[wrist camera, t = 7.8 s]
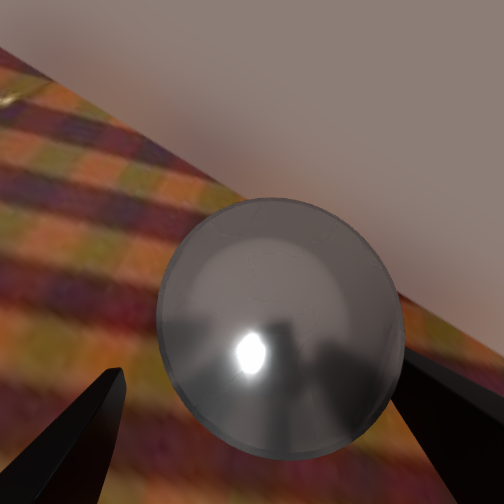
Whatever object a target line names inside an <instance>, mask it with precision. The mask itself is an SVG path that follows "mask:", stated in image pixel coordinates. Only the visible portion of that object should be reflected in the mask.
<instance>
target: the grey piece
mask: <svg viewBox="0 0 504 504" xmlns="http://www.w3.org/2000/svg"><path fill="white" fill-rule="evenodd" d="M156 316H157V336H158V342H159V349H160V353H161V356H162V360H163V363H164V366H165V370H166V372H167V374H168V376H169V378H170V381H171V383H172V385H173V387H174V389H175V391H176V392H177V394H178V395H179V397H180V398H181V400H182V402H183V403H184V405H185V406H186V407H187V408H188V410H189V411H190V412H191V413H192V414H193V415H194V417H195V418H196V419H197V420H198V421H199V422H200V423H201V424H202V425H203V426H205V427H206V428H207V429H208V430H209V431H210V432H212V433H213V434H214V435H215V436H217V437H218V438H220V439H221V440H223V441H225V442H226V443H228V444H230V445H231V446H233V447H235V448H237V449H240V450H242V451H245V452H247V453H249V454H252V455H255V456H259V457H264V458H268V459H273V460H288V461H296V460H305V459H313V458H316V457H320V456H323V455H327V454H330V453H333V452H335V451H337V450H339V449H341V448H343V447H345V446H347V445H349V444H350V443H351V442H353V441H354V440H356V439H357V438H358V437H360V436H361V435H362V434H364V433H365V432H366V431H367V430H368V429H369V428H370V427H371V426H372V425H373V424H374V423H375V422H376V420H377V419H378V418H379V416H380V415H381V413H382V412H383V411H384V409H385V408H386V406H387V405H388V403H389V401H390V399H391V397H392V395H393V393H394V391H395V388H396V385H397V382H398V380H399V377H400V373H401V369H402V364H403V359H404V347H405V330H404V320H403V314H402V308H401V305H400V301H399V297H398V294H397V291H396V289H395V286H394V284H393V281H392V279H391V277H390V275H389V273H388V271H387V269H386V267H385V265H384V264H383V262H382V261H381V259H380V258H379V256H378V255H377V254H376V252H375V251H374V250H373V248H372V247H371V246H370V245H369V243H368V242H367V241H366V240H365V239H364V238H363V237H362V236H361V235H360V234H359V233H358V232H357V231H355V230H354V229H353V228H352V227H351V226H349V225H348V224H347V223H345V222H344V221H342V220H340V218H338V217H337V216H335V215H333V214H331V213H329V212H327V211H326V210H323V209H321V208H319V207H316V206H314V205H311V204H308V203H305V202H301V201H297V200H291V199H286V198H257V199H251V200H245V201H242V202H239V203H235V204H232V205H230V206H227V207H225V208H223V209H221V210H219V211H217V212H215V213H214V214H212V215H210V216H209V217H207V218H206V219H205V220H203V221H202V222H201V223H199V224H198V225H197V226H196V227H195V228H194V229H193V230H192V231H191V232H190V233H189V234H188V235H187V236H186V237H185V238H184V240H183V241H182V242H181V244H180V245H179V246H178V248H177V249H176V251H175V253H174V254H173V256H172V258H171V260H170V262H169V264H168V266H167V269H166V271H165V274H164V276H163V279H162V283H161V287H160V291H159V295H158V303H157V312H156Z"/></svg>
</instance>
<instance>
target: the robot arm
mask: <svg viewBox="0 0 504 504" xmlns="http://www.w3.org/2000/svg"><path fill="white" fill-rule="evenodd" d="M125 396H126V382H125V378H124V373H123V370H122V368H120V367H118V368H110V369H107V370H105V371H104V372H103V373H102V374H101V375H100V376H99V377H98V378H97V379H96V380H95V381H94V382H93V383H92V384H91V385H90V386H89V387H88V388H87V389H86V390H85V391H84V392H83V393H82V394H81V395H80V396H79V397H78V398H77V399H76V400H75V401H74V402H72V403H71V404H70V405H69V406H68V407H67V408H66V409H65V410H64V411H63V412H62V413H61V414H60V415H59V416H58V417H57V418H56V419H55V420H54V421H53V422H52V423H51V424H50V425H49V426H48V427H47V428H46V429H45V430H44V431H43V432H42V433H41V434H40V435H39V436H38V437H37V438H36V439H35V440H34V441H33V442H32V443H31V444H30V445H29V446H27V447H26V448H25V449H24V450H23V451H22V452H21V453H20V454H19V455H18V456H17V457H16V458H15V459H14V460H13V461H12V462H11V463H10V464H9V465H8V466H7V467H6V468H5V469H4V470H3V471H2V472H1V473H0V504H97V503H98V500H99V497H100V493H101V490H102V487H103V484H104V481H105V477H106V474H107V471H108V468H109V465H110V461H111V458H112V455H113V451H114V448H115V443H116V439H117V434H118V429H119V425H120V420H121V415H122V410H123V405H124V401H125ZM391 400H392V402H393V404H394V405H395V407H396V408H397V410H398V412H399V413H400V415H401V416H402V418H403V419H404V421H405V423H406V424H407V426H408V427H409V429H410V430H411V432H412V433H413V435H414V437H415V438H416V440H417V441H418V443H419V444H420V446H421V447H422V449H423V451H424V452H425V454H426V455H427V457H428V458H429V460H430V461H431V463H432V465H433V466H434V468H435V469H436V471H437V472H438V474H439V476H440V477H441V479H442V480H443V482H444V483H445V485H446V486H447V488H448V490H449V491H450V493H451V494H452V496H453V497H454V499H455V500H456V502H457V504H504V397H502V396H500V395H498V394H497V393H495V392H493V391H491V390H489V389H487V388H485V387H483V386H481V385H479V384H477V383H475V382H473V381H471V380H469V379H467V378H465V377H463V376H462V375H460V374H458V373H456V372H454V371H452V370H450V369H448V368H446V367H444V366H442V365H440V364H438V363H436V362H434V361H432V360H430V359H428V358H426V357H425V356H423V355H421V354H419V353H417V352H415V351H413V350H411V349H409V348H407V347H404V359H403V364H402V369H401V373H400V377H399V380H398V382H397V385H396V388H395V391H394V393H393V395H392V397H391Z"/></svg>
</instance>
